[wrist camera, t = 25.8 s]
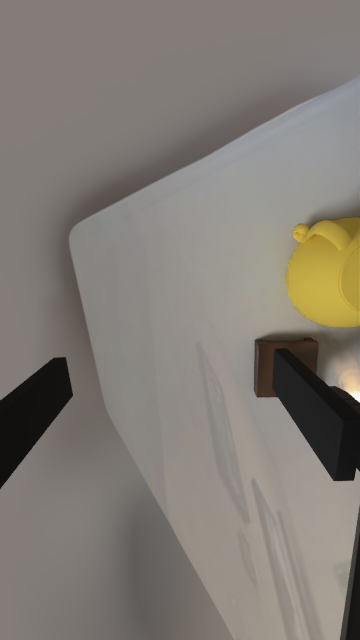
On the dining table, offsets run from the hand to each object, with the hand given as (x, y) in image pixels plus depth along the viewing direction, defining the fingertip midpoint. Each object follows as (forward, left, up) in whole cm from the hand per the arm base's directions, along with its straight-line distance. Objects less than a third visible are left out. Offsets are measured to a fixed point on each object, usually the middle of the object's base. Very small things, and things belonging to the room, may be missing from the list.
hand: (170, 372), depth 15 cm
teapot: (+25, +6, -28) cm, 38 cm away
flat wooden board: (+17, -12, -28) cm, 35 cm away
